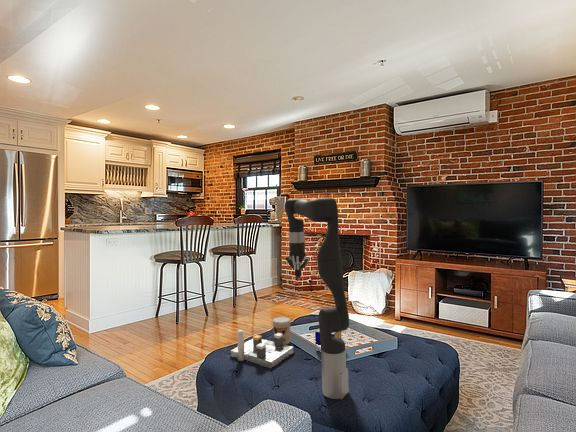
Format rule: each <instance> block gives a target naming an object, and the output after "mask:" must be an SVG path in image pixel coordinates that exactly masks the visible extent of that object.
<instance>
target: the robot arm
mask: <svg viewBox="0 0 576 432" xmlns="http://www.w3.org/2000/svg"><path fill="white" fill-rule="evenodd" d="M284 210H285V213H286V217H287V221H288V247H289V248H288V249H289V254H288V256H287V257H285V260H286V262H287V263H288V265H289V266H290V268H291V269H294V276H295V278H298V279H299V278H301V276H302V275H303V274H302V270H303V269H305V268H306V266H307V265H308V263H309V262H310V260H311V258H309V257H307V254H306V236H305V228H304V227H305V225H304V224H305V222H304V220H303V219H301V218H296V217H295V216H294V215H299V216H303V217H306V218H307V219H308V220H309V221H311V222H314V223H324V222H326V224H327V225H326V226H327V227H326V229H327V230H326V234H325V238H324V239H323V242H322V243H321V246H320V248H319V250H318V252H317V257H316V260H317V262H316V263H317V271H318V275H319V276H320V278H321V280H322V281H323V283H324V284H325V285H326V286H327V288H328V290H330V293H331V295H332V297H333V301H334V305H335V306H332V307H331V306H330V307H324V308H321V309H320V310H319V312H318V327H319V328H318V329H319V331H320V342H321V352H320V353H321V355H320V356H321V358H320V359H321V361H320V362H321V382H322V384H321V385H322V388H321V389H322V394H323V396H324V397H326V398H328V399H330V400H331V399H332V400H343V399H344V398H345V397H346V396H347V395H348V394H349V392H350V391H349V389H350V388H349V368H348V367H347V365H346V364H347V363H346V360H347V359H346V342H345V340H343V339H339V338H336V337H332V333H334V332H340V331H341V332H344V331H347V330H348V329H349V326H350V316H349V315H350V314H349V311H348V310H349V309H348V303H347V299H346V292H345V285H344V276H343V262H342V255H341V247H340V245H341V244H340V236H339V235H340V234H339V208H338V203H337V201H336V199H335V198H334V197H324V198H323V197H321V198H318V197H317V198H314V199H311V200H310V199H309V200H308V199H304V198H291V199H287V200H286V201H285V203H284Z"/></svg>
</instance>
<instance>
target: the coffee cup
mask: <svg viewBox="0 0 576 432" xmlns="http://www.w3.org/2000/svg"><path fill="white" fill-rule="evenodd" d="M291 322H292V321H291V319H290V317H287V316H277V317H275V318H273V320H272V327H273V336H274V335H275V334H277V333H281V334H283V344H285V345H289V344H290V342H291Z"/></svg>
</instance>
